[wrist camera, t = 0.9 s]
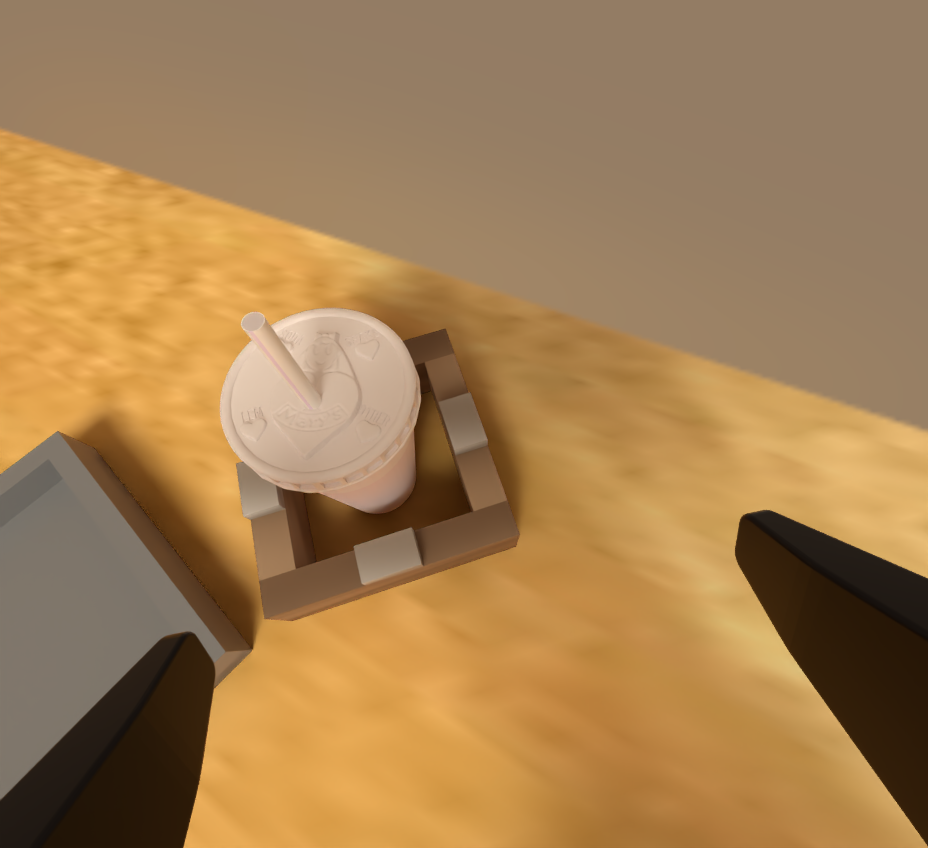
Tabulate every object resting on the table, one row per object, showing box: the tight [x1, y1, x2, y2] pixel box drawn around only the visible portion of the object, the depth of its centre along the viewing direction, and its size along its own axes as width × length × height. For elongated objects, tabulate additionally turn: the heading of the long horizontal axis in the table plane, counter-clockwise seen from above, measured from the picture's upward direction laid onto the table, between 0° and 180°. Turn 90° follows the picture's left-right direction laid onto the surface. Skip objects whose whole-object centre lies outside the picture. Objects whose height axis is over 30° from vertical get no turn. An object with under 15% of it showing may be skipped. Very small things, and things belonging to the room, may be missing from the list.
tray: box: [0, 431, 252, 800], centre depth 21 cm, size 14×14×2 cm
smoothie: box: [220, 308, 421, 514], centre depth 18 cm, size 6×6×14 cm
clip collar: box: [236, 329, 520, 621], centre depth 23 cm, size 11×11×4 cm
